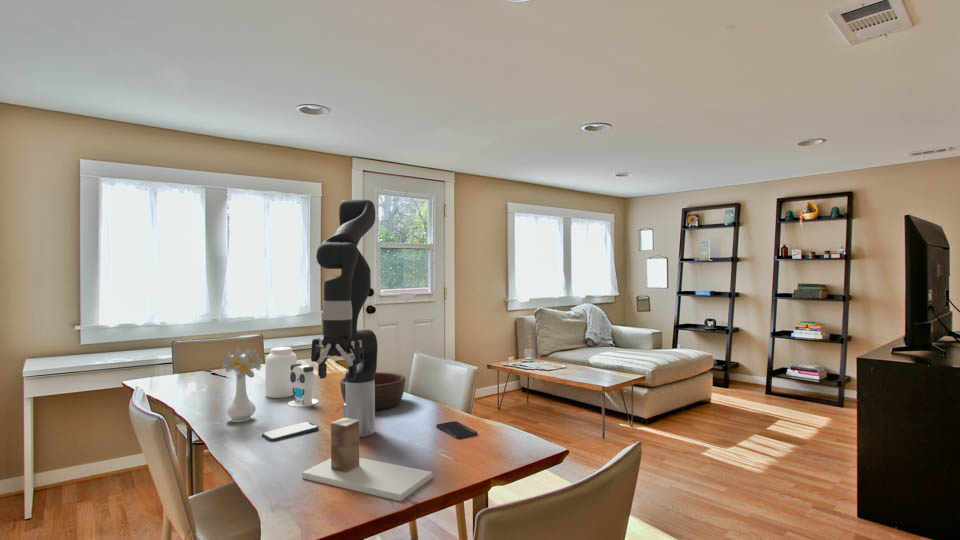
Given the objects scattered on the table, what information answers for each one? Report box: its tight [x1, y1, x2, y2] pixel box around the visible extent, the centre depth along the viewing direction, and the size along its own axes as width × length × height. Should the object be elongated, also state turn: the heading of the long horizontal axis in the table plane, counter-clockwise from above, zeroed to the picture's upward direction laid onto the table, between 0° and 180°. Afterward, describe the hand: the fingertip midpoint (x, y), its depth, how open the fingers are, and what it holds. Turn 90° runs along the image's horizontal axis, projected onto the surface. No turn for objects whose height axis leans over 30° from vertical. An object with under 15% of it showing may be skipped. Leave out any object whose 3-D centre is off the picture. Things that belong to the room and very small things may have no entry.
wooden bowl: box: [339, 371, 406, 411], centre depth 196 cm, size 25×25×10 cm
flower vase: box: [220, 347, 264, 423], centre depth 176 cm, size 13×18×25 cm
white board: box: [301, 457, 433, 502], centre depth 127 cm, size 30×14×2 cm, turn 64°
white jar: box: [264, 346, 298, 399], centre depth 212 cm, size 12×12×20 cm
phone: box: [435, 420, 478, 440], centre depth 163 cm, size 8×1×15 cm
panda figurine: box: [287, 363, 319, 408], centre depth 199 cm, size 12×11×15 cm
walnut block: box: [330, 417, 360, 473], centre depth 130 cm, size 5×5×12 cm
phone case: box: [261, 421, 319, 443], centre depth 162 cm, size 9×2×16 cm
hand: (337, 378), depth 132 cm, fingers open, 8 cm apart
